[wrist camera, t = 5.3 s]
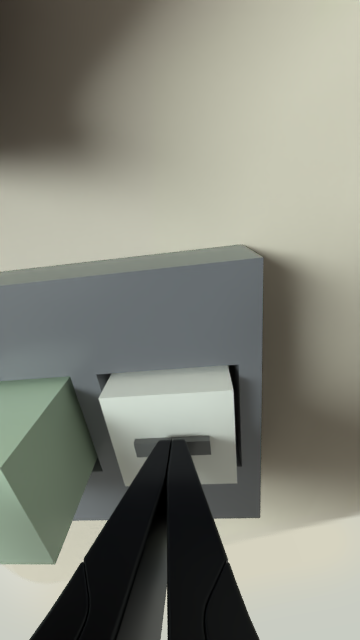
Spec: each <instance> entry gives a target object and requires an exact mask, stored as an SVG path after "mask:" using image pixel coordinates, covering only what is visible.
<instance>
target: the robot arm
mask: <svg viewBox="0 0 360 640" xmlns="http://www.w3.org/2000/svg"><path fill="white" fill-rule="evenodd" d="M166 588H167V607H168V608H167V611H168V613H167V614H168V640H259V637H258V635H257V633H256V631H255V628H254V626H253V624H252V621H251V619H250V617H249V615H248V612H247V610H246V607H245V604H244V601H243V599H242V596H241V594H240V591H239V588H238V586H237V583H236V581H235V578H234V575H233V572H232V569H231V566H230V564H229V563H228V558H227V555H226V553H225V550H224V547H223V544H222V541H221V538H220V536H219V533H218V530H217V527H216V524H215V522H214V519H213V516H212V513H211V510H210V508H209V505H208V502H207V499H206V496H205V493H204V491H203V488H202V485H201V482H200V479H199V477H198V474H197V471H196V468H195V465H194V463H193V460H192V457H191V454H190V451H189V449H188V446H187V443H186V440H185V439H184V438H179V439H173V440H171V439H160V440H159V441H158V442H157V443H156V445H155V446H154V448H153V450H152V451H151V453H150V454H149V456H148V458H147V459H146V461H145V462H144V464H143V465H142V467H141V469H140V470H139V472H138V473H137V475H136V477H135V478H134V480H133V481H132V483H131V485H130V486H129V488H128V489H127V491H126V492H125V494H124V496H123V497H122V499H121V500H120V502H119V504H118V505H117V507H116V508H115V510H114V512H113V513H112V515H111V516H110V518H109V519H108V521H107V523H106V524H105V526H104V527H103V529H102V531H101V532H100V534H99V535H98V537H97V538H96V540H95V542H94V543H93V545H92V546H91V548H90V550H89V551H88V553H87V554H86V556H85V558H84V562H82V563H81V564H80V565H79V567H78V568H77V570H76V572H75V573H74V575H73V576H72V578H71V580H70V581H69V583H68V584H67V586H66V587H65V589H64V590H63V592H62V594H61V595H60V596H59V598H58V599H57V601H56V602H55V604H54V605H53V607H52V608H51V610H50V611H49V613H48V614H47V616H46V617H45V619H44V620H43V621H42V623H41V624H40V626H39V627H38V628H37V630H36V631H35V633H34V634H33V636H32V637H31V638H30V640H160V639H161V630H162V621H163V613H164V605H165V597H166Z"/></svg>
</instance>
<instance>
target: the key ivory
mask: <svg viewBox="0 0 360 640" xmlns="http://www.w3.org/2000/svg"><path fill="white" fill-rule="evenodd" d="M98 399H99V402H100V405H101V408H102V412H103V415H104V418H105V422H106V425H107V428H108V431H109V435H110V438H111V441H112V445H113V448H114V451H115V454H116V458H117V461H118V464H119V468H120V471H121V474H122V477H123V481H124V484H125V486H130V485H131V483H132V481H133V480H134V478H135V477H136V475H137V473H138V472H139V470H140V469H141V467H142V465H143V464H144V462H145V461H146V459H147V458H148V456H149V454H150V453H151V451H152V450H153V448H154V446H155V445H156V443H157V442H158V441H159V440H160V439H171V440H173V439H179V438H184V439H185V440H186V443H187V446H188V449H189V451H190V454H191V457H192V460H193V463H194V465H195V468H196V471H197V474H198V477H199V479H200V482H201V484H233V483H237V464H236V440H235V416H234V392H233V386H232V382H231V377H230V373H229V369H228V365H225V366H211V367H196V368H182V369H168V370H153V371H139V372H125V373H111V375H110V377H109V379H108V381H107V383H106V385H105V387H104V389H103V391H102V393H101V394H100V396H99V398H98Z"/></svg>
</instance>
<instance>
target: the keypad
mask: <svg viewBox="0 0 360 640" xmlns="http://www.w3.org/2000/svg"><path fill="white" fill-rule="evenodd" d="M262 328H263V257H262V256H260V255H259V254H257V253H255V252H254V251H252V250H251V249H249V248H247V247H246V246H244V245H233V246H224V247H216V248H207V249H198V250H189V251H180V252H172V253H163V254H154V255H145V256H136V257H128V258H119V259H110V260H101V261H92V262H84V263H75V264H66V265H57V266H48V267H40V268H31V269H22V270H13V271H4V272H0V381H11V380H25V379H39V378H54V377H68V376H70V378H71V380H72V383H73V386H74V389H75V392H76V395H77V398H78V401H79V404H80V407H81V409H82V412H83V415H84V418H85V421H86V424H87V427H88V430H89V433H90V436H91V438H92V441H93V444H94V447H95V450H96V453H97V456H98V457H97V460H96V462H95V465H94V467H93V470H92V472H91V475H90V477H89V480H88V482H87V485H86V488H85V490H84V493H83V495H82V498H81V500H80V503H79V505H78V508H77V510H76V513H75V515H74V518H73V520H72V521H76V520H108V519H109V518H110V516H111V515H112V513H113V512H114V510H115V508H116V507H117V505H118V504H119V502H120V500H121V499H122V497H123V496H124V494H125V492H126V491H127V489H128V488H129V486H125V484H124V481H123V477H122V474H121V471H120V468H119V464H118V461H117V458H116V454H115V451H114V448H113V445H112V441H111V438H110V435H109V431H108V428H107V425H106V422H105V418H104V415H103V412H102V408H101V405H100V402H99V399H98V398H99V396H100V394H101V393H102V391H103V389H104V387H105V385H106V383H107V381H108V379H109V377H110V375H111V373H125V372H139V371H153V370H168V369H182V368H196V367H211V366H225V365H229V373H230V377H231V382H232V386H233V392H234V416H235V440H236V464H237V483H233V484H201V485H202V488H203V491H204V493H205V496H206V499H207V502H208V505H209V508H210V510H211V513H212V516H213V519H216V518H260V487H261V408H262Z"/></svg>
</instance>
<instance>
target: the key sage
mask: <svg viewBox="0 0 360 640" xmlns="http://www.w3.org/2000/svg"><path fill="white" fill-rule="evenodd" d="M97 457H98V456H97V453H96V450H95V447H94V444H93V441H92V438H91V436H90V433H89V430H88V427H87V424H86V421H85V418H84V415H83V412H82V409H81V407H80V404H79V401H78V398H77V395H76V392H75V389H74V386H73V383H72V380H71V378H70V376H68V377H54V378H39V379H25V380H11V381H0V564H55V563H56V561H57V558H58V556H59V553H60V551H61V548H62V546H63V543H64V541H65V538H66V536H67V533H68V531H69V528H70V525H71V523H72V520H73V518H74V515H75V513H76V510H77V508H78V505H79V503H80V500H81V498H82V495H83V493H84V490H85V488H86V485H87V482H88V480H89V477H90V475H91V472H92V470H93V467H94V465H95V462H96V460H97Z"/></svg>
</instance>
